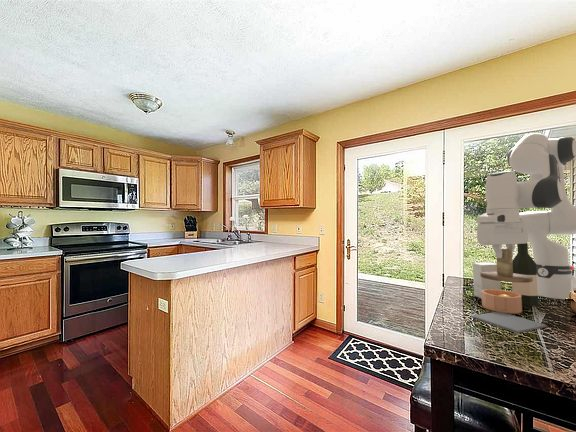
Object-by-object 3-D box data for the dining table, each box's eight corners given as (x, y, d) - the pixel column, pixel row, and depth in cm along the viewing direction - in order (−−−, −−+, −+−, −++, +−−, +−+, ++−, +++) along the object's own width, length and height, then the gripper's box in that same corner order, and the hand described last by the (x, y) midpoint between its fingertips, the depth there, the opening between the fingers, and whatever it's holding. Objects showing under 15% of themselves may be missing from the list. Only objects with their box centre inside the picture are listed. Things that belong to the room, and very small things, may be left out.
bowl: (495, 302, 107) (494, 288, 108) (529, 311, 96) (529, 295, 96) (475, 305, 104) (474, 290, 104) (508, 315, 92) (507, 298, 92)
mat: (499, 312, 95) (499, 311, 95) (546, 326, 82) (546, 324, 82) (472, 317, 91) (471, 315, 91) (517, 333, 78) (517, 331, 78)
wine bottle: (517, 305, 103) (513, 232, 104) (508, 299, 111) (505, 231, 112) (544, 307, 100) (540, 231, 101) (533, 301, 108) (529, 231, 109)
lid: (497, 273, 95) (496, 246, 96) (543, 280, 82) (541, 249, 83) (471, 275, 91) (470, 248, 92) (514, 284, 78) (513, 251, 79)
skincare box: (492, 295, 117) (490, 262, 118) (502, 300, 111) (501, 264, 111) (473, 295, 118) (471, 262, 118) (482, 299, 111) (480, 264, 112)
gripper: (512, 217, 94) (514, 255, 93) (472, 217, 88) (473, 257, 87) (533, 217, 88) (535, 257, 87) (491, 217, 82) (493, 260, 81)
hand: (504, 257), depth 87 cm, fingers closed on lid, 3 cm apart
